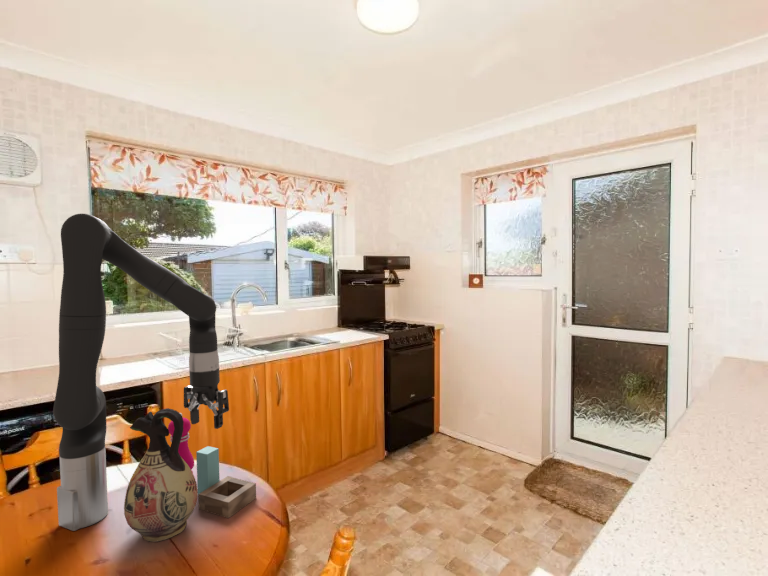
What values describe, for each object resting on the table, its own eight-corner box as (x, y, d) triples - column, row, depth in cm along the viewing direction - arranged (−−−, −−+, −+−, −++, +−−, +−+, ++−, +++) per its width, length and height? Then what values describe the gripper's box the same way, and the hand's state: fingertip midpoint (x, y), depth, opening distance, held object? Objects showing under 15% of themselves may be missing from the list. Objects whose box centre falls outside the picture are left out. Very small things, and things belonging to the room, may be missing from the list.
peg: (208, 497, 113) (207, 454, 113) (197, 494, 115) (196, 451, 114) (219, 490, 117) (218, 448, 116) (209, 487, 119) (207, 446, 118)
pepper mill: (184, 487, 119) (181, 418, 118) (161, 485, 120) (159, 416, 119) (200, 474, 126) (197, 409, 125) (178, 472, 127) (176, 408, 126)
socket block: (228, 518, 104) (228, 502, 104) (199, 509, 108) (198, 494, 108) (256, 497, 113) (255, 483, 113) (227, 490, 117) (227, 476, 117)
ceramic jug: (108, 550, 93) (102, 417, 91) (155, 509, 108) (151, 395, 106) (178, 556, 90) (173, 420, 89) (217, 514, 106) (213, 397, 104)
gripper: (173, 368, 114) (176, 426, 115) (213, 373, 108) (215, 434, 109) (196, 362, 121) (198, 417, 121) (234, 366, 115) (236, 424, 116)
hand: (206, 425), depth 115 cm, fingers open, 8 cm apart
